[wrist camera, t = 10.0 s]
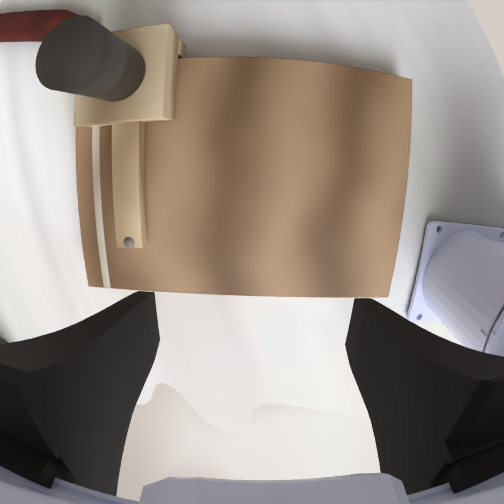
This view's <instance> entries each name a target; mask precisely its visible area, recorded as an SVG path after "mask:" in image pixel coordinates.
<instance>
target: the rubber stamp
mask: <svg viewBox="0 0 504 504" xmlns="http://www.w3.org/2000/svg"><path fill="white" fill-rule="evenodd" d="M185 49H186V46H185V44H184V43H183V42H182V40H181V39H180V38H179V36H178V35H177V33H176V32H175V31H174V29H173V28H172V27H171V25H170V24H169V23H168V24H159V25H151V26H144V27H137V28H131V29H125V30H119V31H114V32H111V31H109V30H108V29H106V28H105V27H104V26H102V25H101V24H99V23H98V22H96V21H95V20H93V19H92V18H90V17H87V16H74V17H70V18H68V19H66V20H64V21H62V22H60V23H59V24H57V25H56V26H55V27H54V28H53V29H52V30H51V31H50V32H49V33H48V34H47V36H46V37H45V38H44V40H43V42H42V44H41V46H40V48H39V50H38V53H37V57H36V74H37V77H38V79H39V81H40V82H41V84H42V85H44V86H45V87H46V88H48V89H51V90H57V91H62V92H67V93H72V94H75V113H74V126H87V127H97V126H106V125H112V183H113V204H114V219H115V232H116V243H117V247H122V248H129V249H130V248H143V247H144V246H145V245H146V244H147V243H148V240H147V224H146V201H145V122H153V121H173V120H175V101H176V80H177V63H178V59H180V58H185Z"/></svg>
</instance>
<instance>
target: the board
mask: <svg viewBox="0 0 504 504" xmlns="http://www.w3.org/2000/svg"><path fill="white" fill-rule="evenodd" d="M411 114H412V79H408V78H404V77H400V76H396V75H391V74H387V73H382V72H377V71H372V70H367V69H361V68H356V67H350V66H343V65H337V64H329V63H322V62H313V61H304V60H293V59H279V58H261V57H198V58H180V59H178V63H177V80H176V101H175V120H173V121H153V122H145V201H146V224H147V240H148V243H147V244H146V245H145V246H144V247H143V248H130V249H129V248H122V247H117V243H116V232H115V219H114V204H113V183H112V125H106V126H97V127H87V126H76V174H77V193H78V207H79V218H80V228H81V237H82V245H83V253H84V260H85V267H86V273H87V279H88V285H89V286H91V287H103V288H116V289H129V290H144V291H159V292H176V293H195V294H217V295H242V296H276V297H388V295H389V291H390V286H391V281H392V276H393V271H394V266H395V261H396V256H397V250H398V244H399V238H400V232H401V225H402V218H403V211H404V203H405V195H406V186H407V177H408V166H409V153H410V137H411Z"/></svg>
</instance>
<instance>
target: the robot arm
mask: <svg viewBox="0 0 504 504" xmlns="http://www.w3.org/2000/svg"><path fill="white" fill-rule="evenodd" d="M438 226H440V229H439V230H438V231H437V227H438ZM500 234H501V236H500ZM419 314H420V315H419ZM417 315H419V316H418V317H417ZM407 319H408V320H407ZM407 319H406V318H404V317H402V316H401V315H399V314H397V313H396V312H394V311H392V310H391V309H389V308H387V307H386V306H384V305H382V304H381V303H379V302H377V301H375V300H373V299H370V298H355V299H354V304H353V309H352V314H351V319H350V324H349V329H348V334H347V338H346V343H345V346H346V351H347V356H348V360H349V364H350V367H351V370H352V373H353V375H354V378H355V380H356V383H357V385H358V388H359V390H360V393H361V395H362V398H363V400H364V403H365V406H366V408H367V411H368V414H369V417H370V420H371V424H372V428H373V432H374V437H375V441H376V447H377V451H378V458H379V463H380V471H381V473H366V474H351V475H343V476H335V477H325V478H313V479H300V480H299V479H298V480H265V481H264V480H258V481H257V480H256V481H255V480H228V479H212V478H200V477H197V478H196V477H194V478H175V477H172V478H171V477H168V478H166V479H163V480H160V481H157V482H155V483H152V484H149V485H146V486H144V487H143V490H142V494H141V498H140V502H137V501H133V500H129V499H124V498H120V497H116V493H117V485H118V478H119V471H120V466H121V460H122V454H123V450H124V445H125V441H126V436H127V432H128V428H129V424H130V421H131V417H132V414H133V411H134V408H135V405H136V403H137V401H138V398H139V396H140V393H141V391H142V389H143V386H144V384H145V382H146V379H147V377H148V375H149V372H150V370H151V368H152V365H153V363H154V360H155V357H156V353H157V349H158V345H159V341H160V336H159V328H158V320H157V312H156V303H155V293H154V292H144V291H138V292H135V293H133V294H131V295H129V296H127V297H125V298H124V299H122V300H120V301H118V302H116V303H115V304H113V305H111V306H109V307H107V308H106V309H104V310H102V311H100V312H98V313H96V314H94V315H92V316H90V317H88V318H86V319H84V320H83V321H80V322H78V323H76V324H74V325H71V326H69V327H66V328H64V329H61V330H59V331H56V332H53V333H49V334H46V335H42V336H39V337H35V338H32V339H27V340H23V341H18V342H12V343H5V344H0V504H504V228H497V227H489V226H480V225H471V224H462V223H452V222H442V221H430V222H429V223H428V224H427V226H426V231H425V237H424V243H423V248H422V253H421V258H420V263H419V268H418V272H417V277H416V281H415V286H414V290H413V294H412V298H411V302H410V306H409V309H408V313H407ZM429 321H441V322H442V323H443V325H444V326H445V327H446V328H447V329H448V330H449V331H450V332H451V334H452V335H453V336H454V337H455V338H456V339H457V340H458V342H459V343H460V344H461V345H462V346H461V345H459V344H456V343H453V342H451V341H449V340H446V339H444V338H442V337H439V336H437V335H435V334H433V333H431V332H429V331H427V330H425V329H423V328H421V327H420V326H418V325H416V324H414V323H413V322H429Z"/></svg>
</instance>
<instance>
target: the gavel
mask: <svg viewBox="0 0 504 504" xmlns="http://www.w3.org/2000/svg"><path fill="white" fill-rule="evenodd" d="M74 16H79V15H77V14H75V13H73V12H70V11H68V10H38V11H24V12H13V13H4V14H0V42H26V41H34V42H43V40H44V38H45V37H46V36H47V34H48V33H49V32H50V31H51V30H52V29H53V28H54V27H55V26H56V25H57V24H59V23H60V22H62V21H64V20H66V19H68V18H70V17H74ZM96 22H97V21H96Z"/></svg>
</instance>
